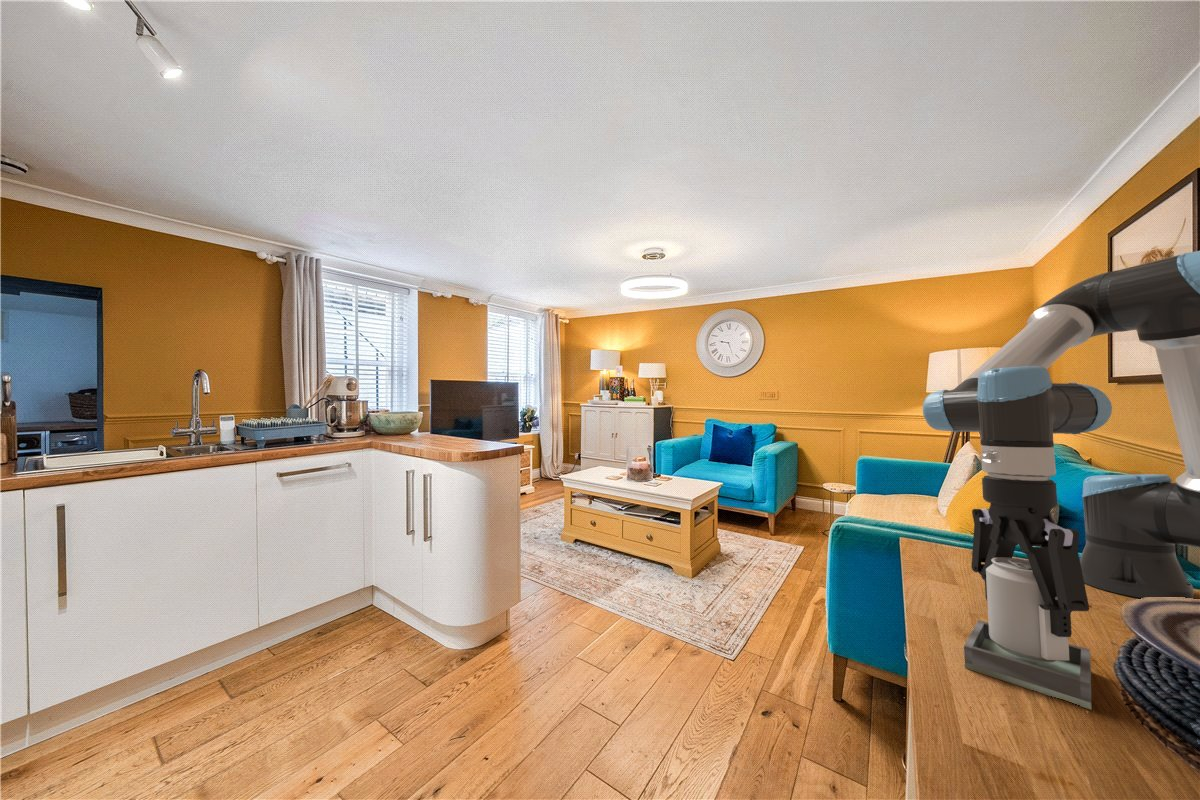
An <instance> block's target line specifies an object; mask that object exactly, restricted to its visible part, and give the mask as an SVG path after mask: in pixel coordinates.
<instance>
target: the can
mask: <svg viewBox="0 0 1200 800" xmlns="http://www.w3.org/2000/svg"><path fill="white" fill-rule="evenodd" d="M991 561H992V562H993V564H992V565H990V566H989V567H987V568H986V582H987V600H986V602H987V617H988V618H987V619H988V622H987V623H989V636H990V638H991V639H992V640H993V641H994V642H995V643H997V645H998V646H999V647H1000V648H1001V649H1003V650H1005V651H1007V652H1008V653H1011V654H1013V655H1016V656H1018V657H1021V658H1025V659H1028V660H1033V661H1038V662H1055V661H1056V660H1046V659H1045V658H1043V657H1041V641H1040V623H1039V605H1045V603H1044V600H1043V598H1042V595H1041V592H1040V590H1039V587H1038V584H1037V582H1036V579H1035V576H1034V574H1033V571H1032V568H1031V566H1030V563H1029V560H1028V559H1024V558H1017V557H1012V558H1008V557H996V558H993V559H991ZM1055 600H1058V599H1057V597H1055Z"/></svg>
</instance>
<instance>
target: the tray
mask: <svg viewBox="0 0 1200 800" xmlns="http://www.w3.org/2000/svg"><path fill="white" fill-rule="evenodd" d="M1068 644H1069V661H1067V660H1056V661H1055V662H1038V661H1033V660H1028V659H1025V658H1021V657H1018V656H1016V655H1013V654H1011V653H1008V652H1007V651H1005V650H1003V649H1001V648H1000V647H999V646H998V645H997V643H995V642H994V641H993V640H992V639H991V638H990V636H989V622H986V621H982V620H979V619H978V620H977V621H976V624H975V626H974V627H973V628H972V631H971V633H970V634H969V636H968V638H967V640H966V641H965V644H964V645H963V652H964V653H963V654H964V655H963V656H964V668H965V669H967V670H971V671H974V672H976V673H979V674H983V675H985V676H987V677H991V678H994V679H997V680H1001V681H1004V682H1006V683H1009V684H1013V685H1015V686H1019V687H1022V688H1025V689H1028V690H1031V691H1033V690H1034V691H1033V692H1036V691H1037V693H1040V694H1041V695H1046V696H1049V697H1051V696H1052V698H1054V697H1056V698H1055V699H1057V698H1060V699H1065V700H1068V701H1070V702H1072V703H1074V704H1073V705H1075V704H1077V705H1076V706H1078V705H1080V706H1079V707H1081V708H1084V709H1088V710H1091V711H1092V664H1091V650H1090V648H1087V647H1086V648H1085V647H1082V646H1078V645H1075V644H1074V645H1073V644H1070V643H1068ZM1060 699H1059V700H1060ZM1072 703H1071V704H1072Z"/></svg>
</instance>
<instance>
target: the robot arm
mask: <svg viewBox="0 0 1200 800" xmlns="http://www.w3.org/2000/svg"><path fill="white" fill-rule="evenodd" d="M1128 331H1136V332H1137V336H1138V341H1139V342H1141V343H1143V344H1146V345H1149V346H1151V347H1153V348H1154V350H1155V353H1156V356H1157V361H1158V365H1159V368H1160V369H1159V370H1160V373H1161V376H1162V381H1163V385H1164V389H1165V393H1166V396H1167V399H1168V404H1169V407H1170V411H1171V416H1172V419H1173V423H1174V427H1175V430H1176V431H1175V432H1176V435H1177V439H1178V443H1179V444H1178V445H1179V447H1180V452H1181V455H1182V458H1183V462H1184V467H1185V471H1184V472H1183V473H1181V474H1180V475H1178V476H1177V477H1175V482H1173V479H1172V478H1171V477H1170V476H1169V475H1168V474H1158V473H1156V474H1154V473H1150V474H1148V473H1147V474H1145V473H1144V474H1142V473H1139V474H1137V473H1136V474H1134V473H1133V474H1100V475H1091V476H1088V477H1086V478H1085V479H1084V480H1083V483H1082V485H1083V486H1082V494H1081V498H1082V501H1083V502H1082V503H1083V515H1084V529H1085V530H1084V531H1085V545H1084V548H1083V550H1082V553H1081V555H1079V551H1078V550H1079V549H1078V547H1079V541H1080V533H1079V531H1078V530H1077V529H1075V528H1064V527H1062V526H1060V525H1057V524H1056V523H1055V520H1054V519H1053V516H1052V514H1051V511H1052V510H1053V509H1054V508H1056V507H1057V506H1058V491H1057V482H1055V481H1054V479H1051V477H1054V476H1056V475H1057V468H1056V458H1055V445H1054V434H1055V435H1056V434H1061V435H1062V434H1064V435H1070V434H1071V435H1080V434H1081V433H1082V434H1083V433H1088V432H1093V431H1096V430H1098V429H1099V428H1101V427H1103V426H1104V425H1106V423H1107V422H1108V421H1109V419H1110V417H1111V415H1112V413H1113V406H1112V402H1111V400H1110V398H1109V397H1108V396H1107V394H1106V393H1104V392H1103V391H1101V390H1100V389H1099V388H1097V387H1094V386H1093V385H1092V386H1091V385H1087V384H1081V383H1078V382H1069V383H1067V382H1064V383H1061V382H1060V383H1056V382H1055V383H1053V382H1052V379H1051V375H1050V372H1049V370H1048V369H1049V368H1050V367H1051V366H1052V365H1053V364H1054V363H1055V362H1057V360H1058V359H1060V358H1061V357H1062V355H1064V354H1065V352H1067V351H1068V350H1069V349H1070V348H1075V347H1077V346H1080V345H1082V344H1084V343H1085V342H1087V341H1088V340H1089V339H1091V338H1093V337H1097V336H1101V335H1107V334H1112V333H1118V332H1120V333H1121V332H1122V333H1123V332H1128ZM922 404H923V405H922V415H923V418H924V419H925V422H926V424H927V425H928V426H929V427H930V428H932V429H934V430H935V431H936V430H937V431H942V432H943V431H944V432H953V433H959V432H962V433H967V432H968V433H979V434H980V438H979V439H980V451H981V453H980V454H981V455H980V456H981V471H983V473H986V474H987V475H984V476H983V477H982V478H981V481H982V482H981V483H982V485H981V489H982V499H983V500H984V501H985V502H987V503H989V504H990V505H989V508H973V509H972V511H971V514H972V518H973V525H974V526H973V538H972V551H971V552H972V553H971V554H972V555H971V570H972V571H973V572H974V573H978V574H979V575H980V577H981V578H982V580H983V581H984V590H985V596H984V597H985V599H986V601H987V582H986V568H987V567H989V566H990V565H992V564H993V562H992V561H991V559H993V558H996V557H1008V558H1013V557H1014V553H1015V550H1016V548H1017V546H1019V549H1020V551H1021V552H1022V553H1023V554H1025V555H1026V557H1027V560H1029V563H1030V566H1031V568H1032V571H1033V574H1034V576H1035V579H1036V582H1037V584H1038V587H1039V590H1040V592H1041V595H1042V598H1043V600H1044V603H1045V605H1039V623H1040V641H1041V657H1043V658H1045V659H1046V660H1067V661H1069V644H1070V643H1069V638H1071V637H1072V634H1073V633H1072V632H1073V631H1072V620H1071V619H1072V617H1071V616H1072V615H1071V614H1072V612H1089V611H1090V605H1089V600H1088V596H1087V595H1088V594H1087V590H1086V589H1087V588H1086V585H1089V586H1091V587H1093V588H1097V589H1100V590H1103V591H1108V592H1111V593H1116V594H1118V595H1123V596H1128V597H1133V598H1139V599H1144V598H1143V597H1185V598H1194V599H1195V593H1194V587H1193V585H1192V583H1190V582H1189V580H1188V577H1187V575H1186V573H1185V570H1184V569H1183V567H1182V565H1181V564H1180V563H1181V562H1179V559H1178V558H1177V555H1176V554H1177V553H1176V545H1180V546H1185V547H1190V548H1196V549H1200V250H1197V251H1190V252H1184V253H1181V254H1178V255H1173V256H1169V257H1166V258H1162V259H1158V260H1157V259H1156V260H1153V261H1149V262H1145V263H1141V264H1138V265H1134V266H1130V267H1125V268H1121V269H1117V270H1113V271H1111V270H1110V271H1107V272H1103V273H1100V274H1097V275H1094V276H1091V277H1089V278H1086V279H1084V280H1081V281H1079V282H1077V283H1075V284H1073V285H1071V286H1070V287H1068V288H1067V289H1064V290H1063V291H1061V292H1060V293H1058V294H1056V295H1055V296H1053V297H1052V298H1050V299H1049V300H1047V301H1045V302H1044V303H1043V304H1042V305H1041V306H1039V307H1038V308H1037V309H1036V310H1035V311H1033V313H1031V314H1030V316H1029V317H1028V319H1027V321H1026V326H1025V327H1024V328H1023V329H1021V330H1020V331H1019V332H1018V333H1016V335H1014V336H1013V337H1012V338H1011V339H1009V340H1008V341H1007V342H1006V343H1005V344H1004V345H1003V346H1001V347H1000V349H999V350H997V351H996V352H994V354H993V355H992V356H990V357H989V358H988V359H987V360H986V361H984V363H982V364H981V365H979V367H978V368H977V369H975V370H974V371H973V372H972V373H971V374H970V375H968V377H966V378H965V379H964V380H963V381H962V382H960V383H959V384H958V385H957V386H956V387H955V388H953V389H950V390H949V389H943V390H939V391H933V392H930V394H928V395H927V396H926V397H925V399H924V401H923V403H922ZM1055 597H1057V599H1058V600H1055Z"/></svg>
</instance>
